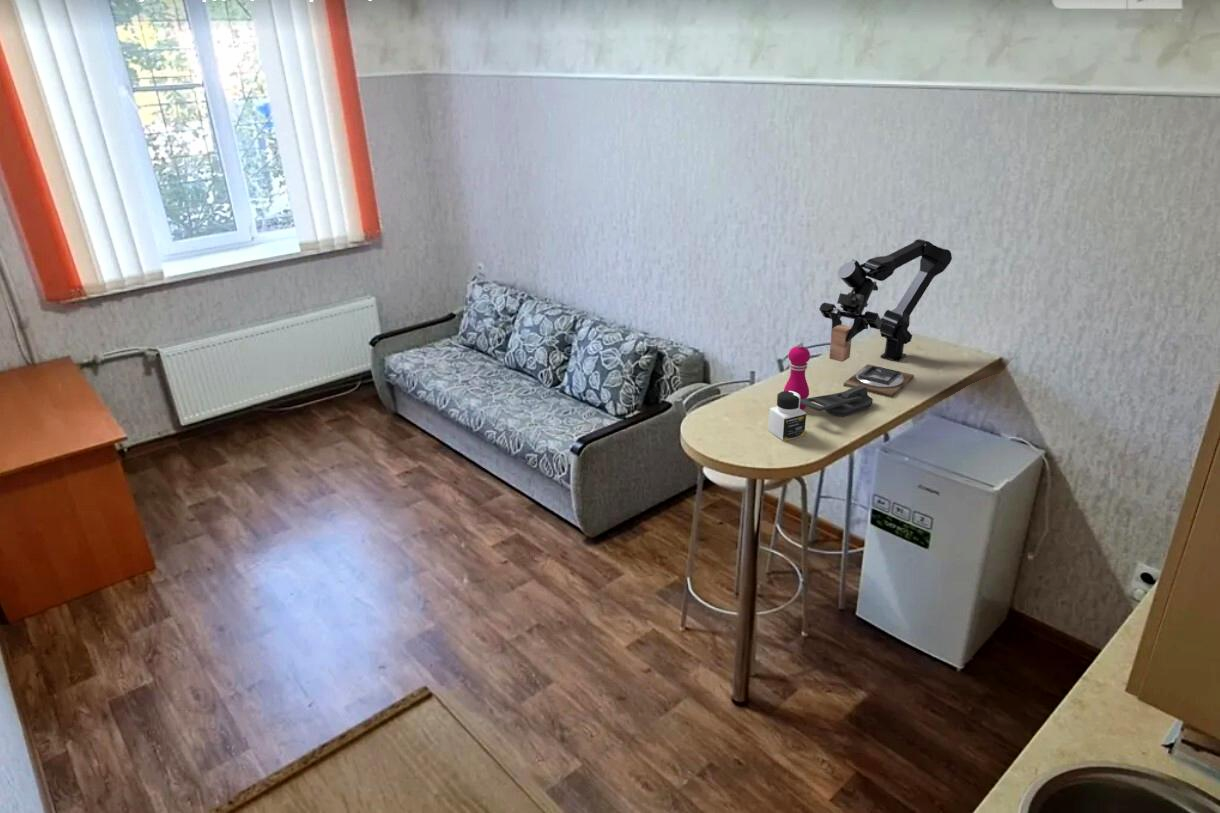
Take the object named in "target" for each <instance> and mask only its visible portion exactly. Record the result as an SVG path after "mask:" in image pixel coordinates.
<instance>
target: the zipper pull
mask: <svg viewBox="0 0 1220 813" xmlns="http://www.w3.org/2000/svg"><path fill="white" fill-rule="evenodd" d="M868 394H869V392H867V388H866V387H864V386H861V385H859V386H856V387H853V388H848V389H846V390H844V391H840V392H837V393H832V394H831V393H830V394H826V395H819V396H813V397H807V398H805V399H800V403H801V404H803V405H804V406H806V408H808V409H812V410H813V411H817V412H823V411H825V412H826V413H827V414H828V415H831V416H833V417H837V418H847V417H849V416H853V415H855V414H859V413H861V412H865V411H867V410H870V409H871V407H872V406H873V399H874V398H873V397H871V396H869V395H868Z"/></svg>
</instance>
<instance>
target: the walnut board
mask: <svg viewBox="0 0 1220 813" xmlns="http://www.w3.org/2000/svg"><path fill="white" fill-rule="evenodd" d="M870 365H871V364H866V365H865V366H864V367H862V368H861V369H865V368H868V367H869V366H870ZM886 369H888V368H886ZM898 371H899V372H901V375H902V376H903V383H902V384H901V385H899V386H897V387H893V388H876V387H870V386H867V385H864V384H862V383H860V382H859V381H857V379H856V373H855V374H853V375H852V376H850V377H849V379H847V380H845V382H843V387H846V388H847V387H848V388H849V389H851V388H853V387H856V386H859V385H861V386H864V387H866V388H867V393H871V394H875V395H878V396H879V395H880V396H883V397H887V398H893V397H894V396H895V395H896V394H897V393H898V392H899V391H900V390H902V389H903V388H904V387H905V386H906V385H907V384H909V382H910V381H912V380H913V379H914V377H915V375H914V374H913V373H908V372H905V371H904V372H903V371H900V370H898Z"/></svg>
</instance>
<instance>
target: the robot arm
mask: <svg viewBox="0 0 1220 813" xmlns="http://www.w3.org/2000/svg"><path fill="white" fill-rule="evenodd" d="M920 257H921V258H920ZM918 258H920V260H919V270H918V272H917V274H915V277H914V278H913V280H912V282H911V283H910V285H909V286H908V288H907V289H906V291H905V293H904V294H903V296H902V297H901V300H900V301H899V302H898V304H897V305H896V307H895V308H893V309H886V310H885V311H884V314H883V316H882V317H881V316H880V315H879V313H878V312H873V311H868V310H867V311H865V312H864V309H865V308H867V307H868V305H869V304H868V301H869V299H870V297H871V295H872V293H873V291H874V292H875V291H878V290H879V287H878V285H877V281H879V282H883V281H885V280H887V279H888V278H889V277H891V276H892V275H894V272H895V270H897V269H898V268H900V267H902V266H904V265H906V264H908V263H909V262H912V261H914V260H916V259H918ZM952 260H953V257H952V252H951V250H949V249H947V248H943V247H939V246H937V245H934V244H933V243H931V241H928V240H925V239H920V238H919V239H915V240H914V241H913V242H912V243H910V244H908V245H906V246H904V247H902V248H900V249H897V250H895V251H893V252H892V253H890V254H887V255H882V256H880V255H879V256H875V257H871V258H869V259H867V260H866V261H865V262H864V263H862V264H860V263H859V261H858V260H855V259H853V258H852V259H851V260H850V261H848V262H846V263H844V264H843V265H841V266H840V267H839V269H838V271H837V276H838V277H839V278H840V279H841V280H842V281H843V282H844V283H845V284H846V286H848V287H849V288H852V289H851V291H850V292H848V293H847V294H846V293H842V292H840V293H839V295H838V299H837V302H836V304H839V305H840V306H839V307H840V308H841V309H839V308H837V306H836V305H835V303H830V302H825V301H824V302H823V303H821V304H820V306H819V309H818V310H819V311H820V313H821V314H822V316H823V317H824V318H825V319H830V320H831V329H832V328H834V327H835V326H837V325H839V324H840V325H843V321H842V318H847V319H852V320H853V324H852V325H851V326H850V327H851V329H850V331H849V333H848V335H847V338H846V342H848V341H849V340H851V341H852V339H853V338H854V337H855V336H857V335H859V333H861V332H863V331H864V330H869V327H870V328H871V329H875V330H879V332H880V336H881V337H882V338H884V339H886V341H885V347H884V353H882V354H881V355H880V358H881V357H882V359H887V360H891V361H896V362H900V361H901V360H903V359H904V358H905V357H906V356H907V353H904V347H905V345H907V344H908V343H910V342H911V341H912V338H913V334H911V332H910V331H909V330H908V328H909V327H910V320H911V319H910V318H911V317H910V316H911V314H912V313H913V311H914V309H915V308H916V306H917V305H918V303H919V302H920V300H921V299H922V297H923V296H924V294H925V292H926V290H927V288H928V287H929V286H930V284H931V283H932V281H933V279H934V278H935V277H936V276H938V275H939V274H941V273H943V272H944V271H945V270H946V269H947V267H948V266H949V265H950V263H951V262H952ZM872 279H873V280H876V281H873V280H872ZM863 312H864V313H863ZM868 326H869V327H868ZM830 332H831V333H830V334H832V330H831V331H830Z"/></svg>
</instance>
